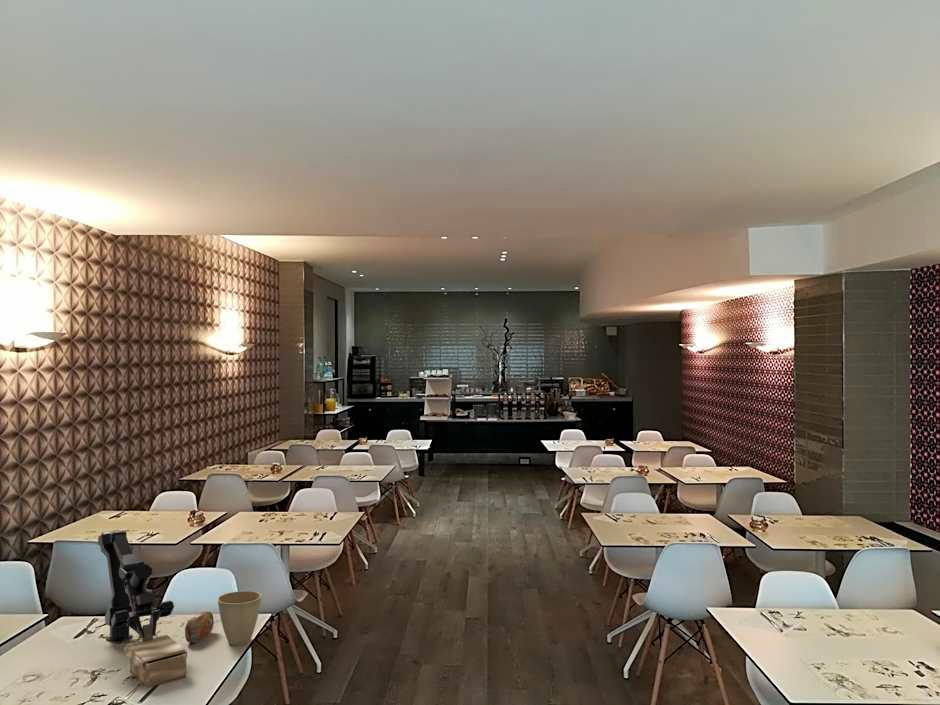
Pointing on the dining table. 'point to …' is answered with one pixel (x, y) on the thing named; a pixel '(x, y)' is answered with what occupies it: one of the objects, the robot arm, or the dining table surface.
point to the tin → (199, 627)
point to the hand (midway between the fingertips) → (149, 636)
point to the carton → (160, 670)
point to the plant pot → (239, 615)
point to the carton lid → (152, 647)
